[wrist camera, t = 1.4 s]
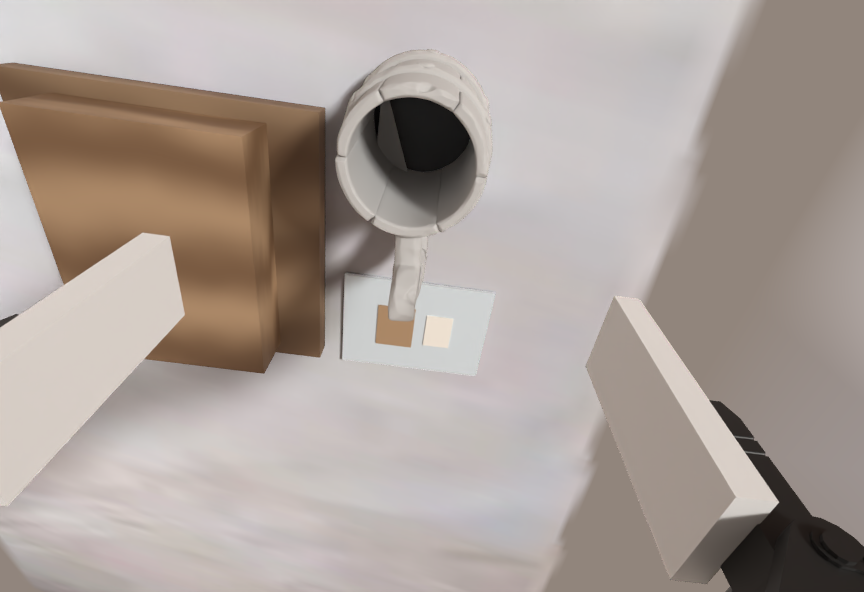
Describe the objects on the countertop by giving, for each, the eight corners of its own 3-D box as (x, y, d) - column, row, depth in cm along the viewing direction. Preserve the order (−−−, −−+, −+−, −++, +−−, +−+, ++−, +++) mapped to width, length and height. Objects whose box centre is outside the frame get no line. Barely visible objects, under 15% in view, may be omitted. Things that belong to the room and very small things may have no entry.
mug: (497, 53, 24) (530, 76, 14) (471, 247, 31) (481, 359, 21) (359, 41, 24) (293, 56, 14) (361, 237, 31) (316, 345, 20)
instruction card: (345, 272, 32) (344, 275, 32) (495, 292, 33) (495, 295, 32) (342, 357, 36) (341, 360, 36) (475, 373, 37) (475, 377, 36)
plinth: (13, 62, 26) (-74, 71, 21) (325, 107, 26) (300, 124, 22) (97, 317, 35) (48, 357, 31) (324, 345, 36) (307, 389, 31)
